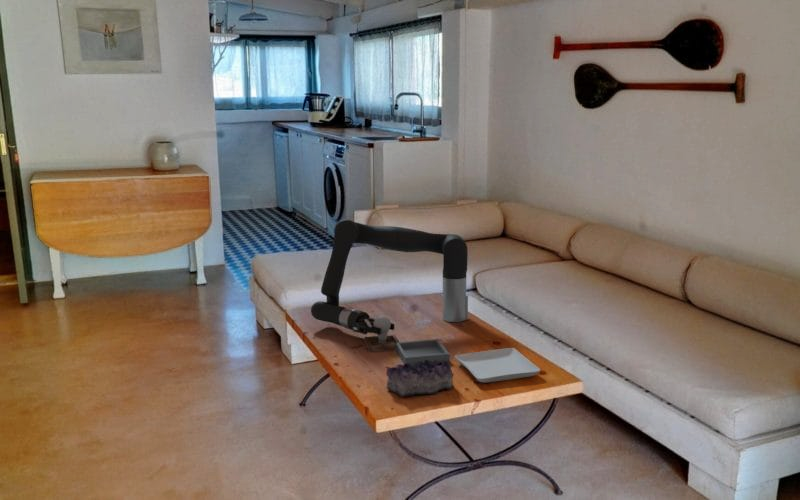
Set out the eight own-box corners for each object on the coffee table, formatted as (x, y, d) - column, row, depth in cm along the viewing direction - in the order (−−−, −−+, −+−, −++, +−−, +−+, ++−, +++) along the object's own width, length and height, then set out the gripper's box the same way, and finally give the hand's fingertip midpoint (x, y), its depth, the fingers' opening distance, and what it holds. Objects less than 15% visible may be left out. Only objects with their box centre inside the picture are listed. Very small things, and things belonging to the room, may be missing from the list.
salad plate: (477, 388, 211) (477, 378, 210) (453, 363, 231) (453, 354, 230) (542, 380, 217) (542, 369, 216) (513, 356, 237) (513, 347, 236)
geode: (444, 377, 219) (446, 348, 216) (458, 396, 209) (461, 366, 206) (381, 384, 213) (383, 354, 210) (393, 404, 203) (395, 373, 200)
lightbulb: (390, 348, 245) (390, 318, 243) (373, 348, 245) (372, 318, 243) (391, 342, 251) (390, 313, 249) (374, 342, 251) (373, 313, 249)
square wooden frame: (394, 339, 255) (394, 334, 254) (401, 349, 244) (400, 344, 244) (364, 341, 252) (364, 336, 252) (369, 352, 242) (369, 347, 242)
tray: (438, 347, 246) (437, 339, 245) (449, 362, 231) (449, 353, 231) (395, 350, 243) (395, 342, 242) (405, 366, 228) (405, 357, 228)
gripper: (339, 314, 251) (372, 323, 239) (368, 305, 261) (401, 314, 250) (339, 334, 252) (372, 344, 241) (368, 324, 262) (401, 334, 251)
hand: (387, 329), depth 245 cm, fingers closed on lightbulb, 6 cm apart
